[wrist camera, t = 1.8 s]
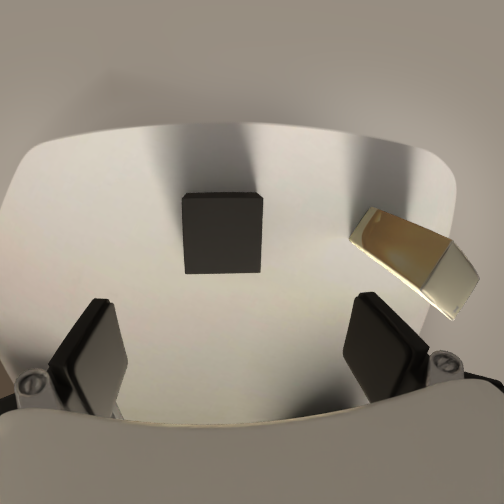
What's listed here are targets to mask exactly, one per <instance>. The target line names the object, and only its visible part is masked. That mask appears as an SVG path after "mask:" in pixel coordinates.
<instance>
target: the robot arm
mask: <svg viewBox="0 0 504 504" xmlns="http://www.w3.org/2000/svg"><path fill="white" fill-rule="evenodd" d="M428 350H429V346H428V345H427V344H426V343H425V342H424V341H423V340H422V339H421V338H420V337H419V336H418V335H417V334H416V333H415V332H414V331H413V329H412V328H411V327H410V326H409V325H408V324H407V323H406V322H404V321H403V320H402V319H401V318H400V317H399V316H398V315H397V314H396V313H395V312H394V311H393V310H392V309H391V308H390V307H389V306H388V305H387V304H386V303H385V302H384V301H383V300H382V299H381V298H380V297H379V296H378V295H377V294H376V293H374V292H364V293H360V294H359V295H358V297H356V298H355V300H354V304H353V309H352V314H351V318H350V323H349V327H348V331H347V335H346V339H345V344H344V347H343V357H344V359H345V361H346V362H347V364H348V366H349V368H350V369H351V371H352V373H353V374H354V376H355V378H356V379H357V381H358V383H359V385H360V386H361V388H362V390H363V391H364V393H365V395H366V397H367V398H368V400H369V402H370V404H366V405H362V406H358V407H354V408H349V409H345V410H340V411H335V412H330V413H325V414H319V415H313V416H307V417H300V418H293V419H285V420H277V421H267V422H255V423H240V424H206V425H198V424H166V423H151V422H140V421H131V420H121V419H113V418H111V415H112V412H113V409H114V405H115V402H116V399H117V396H118V393H119V390H120V386H121V383H122V380H123V377H124V375H125V372H126V369H127V365H128V359H127V355H126V352H125V348H124V344H123V341H122V337H121V333H120V329H119V325H118V320H117V316H116V312H115V307H114V304H113V303H110V301H109V300H108V299H97V298H94V299H93V300H92V301H91V303H90V304H89V305H88V307H87V308H86V309H85V311H84V312H83V314H82V315H81V316H80V318H79V319H78V320H77V322H76V323H75V325H74V326H73V327H72V329H71V330H70V332H69V333H68V335H67V336H66V338H65V339H64V340H63V342H62V343H61V345H60V346H59V348H58V349H57V351H56V352H55V354H54V355H53V357H52V359H51V360H50V362H49V363H48V365H49V368H48V370H47V371H45V370H42V369H37V368H34V369H29V370H27V371H25V372H23V373H22V374H20V375H19V377H18V378H17V379H16V381H15V384H14V390H15V393H14V394H11V395H9V396H6V397H4V398H1V399H0V504H504V386H503V384H502V383H501V382H500V381H498V380H494V379H491V378H487V377H483V376H479V375H475V374H471V373H467V372H464V368H463V363H462V361H461V360H460V358H459V357H457V356H456V355H454V354H453V353H451V352H448V351H442V350H440V351H435V352H433V353H432V354H431V355H430V356H429V355H428V354H427V352H428Z"/></svg>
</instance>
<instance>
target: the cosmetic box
mask: <svg viewBox="0 0 504 504" xmlns="http://www.w3.org/2000/svg"><path fill="white" fill-rule="evenodd" d="M349 240H350V242H352V243H353V244H354V245H355V246H357V247H358V248H359V249H360V250H362V251H363V252H364V253H365V254H367V255H368V256H369V257H371V258H372V259H373V260H375V261H376V262H377V263H379V264H380V265H382V266H383V267H384V268H386V269H387V270H388V271H390V272H391V273H392V274H394V275H395V276H396V277H398V278H399V279H400V280H402V281H403V282H404V283H405V284H407V285H408V286H409V287H411V288H412V289H413V290H414V291H416V292H417V293H418V294H419V295H421V296H422V297H423V298H424V299H426V300H427V301H428V302H430V303H431V304H432V305H433V306H435V307H436V308H437V309H438V310H439V311H441V312H442V313H443V314H444V315H446V316H447V317H448V318H449V319H451V320H452V321H453V320H454V319H455V317H456V316H457V314H458V313H459V312H460V310H461V308H462V307H463V306H464V304H465V303H466V301H467V300H468V298H469V296H470V295H471V293H472V292H473V290H474V288H475V287H476V285H477V283H478V281H479V280H480V278H479V276H478V274H477V272H476V270H475V268H474V267H473V265H472V264H471V263H470V261H469V260H468V258H467V257H466V256H465V255H464V253H463V252H462V251H461V250H460V248H459V247H458V246H457V245H456V244H455V243H454V241H453V240H451V239H449V238H447V237H444V236H442V235H440V234H438V233H435V232H433V231H431V230H429V229H426V228H424V227H422V226H419V225H417V224H414V223H412V222H409V221H407V220H405V219H402V218H400V217H397V216H394V215H392V214H389V213H387V212H384V211H382V210H379V209H377V208H374V207H370V208H369V210H368V211H367V213H366V214H365V215H364V217H363V218H362V220H361V221H360V223H359V224H358V226H357V227H356V229H355V230H354V232H353V233H352V235H351V236H350V238H349Z"/></svg>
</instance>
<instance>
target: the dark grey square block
mask: <svg viewBox="0 0 504 504" xmlns="http://www.w3.org/2000/svg"><path fill="white" fill-rule="evenodd" d="M262 218H263V197H261V196H260V195H259V194H258V193H257V192H204V193H186V194H185V195H184V197H183V198H182V224H183V247H184V264H185V274H225V273H260V269H261V244H262Z"/></svg>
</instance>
